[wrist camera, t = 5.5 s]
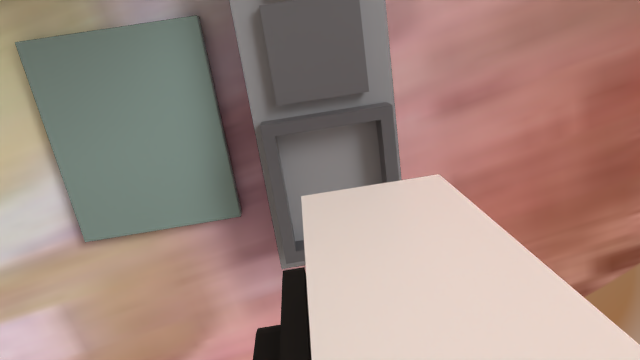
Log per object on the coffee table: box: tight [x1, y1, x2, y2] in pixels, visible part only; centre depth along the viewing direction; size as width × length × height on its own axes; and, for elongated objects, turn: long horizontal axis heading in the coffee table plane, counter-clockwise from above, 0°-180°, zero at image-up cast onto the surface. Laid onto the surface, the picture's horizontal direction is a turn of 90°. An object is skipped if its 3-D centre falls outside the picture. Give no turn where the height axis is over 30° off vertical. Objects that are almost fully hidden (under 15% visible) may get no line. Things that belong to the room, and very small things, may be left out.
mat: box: [15, 15, 242, 242], centre depth 22 cm, size 9×11×1 cm
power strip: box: [229, 0, 401, 269], centre depth 21 cm, size 7×16×4 cm, turn 8°
